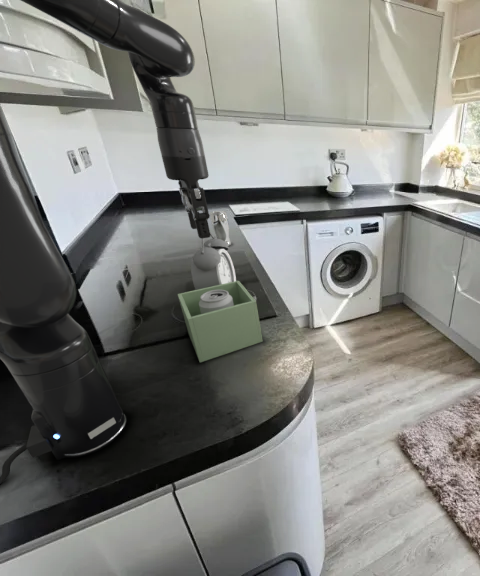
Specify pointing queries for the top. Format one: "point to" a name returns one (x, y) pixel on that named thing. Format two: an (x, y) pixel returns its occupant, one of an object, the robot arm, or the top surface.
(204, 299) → the can
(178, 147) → the robot arm
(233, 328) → the bin
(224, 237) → the silver grey upright ornament
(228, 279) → the alarm clock
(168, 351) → the top surface
